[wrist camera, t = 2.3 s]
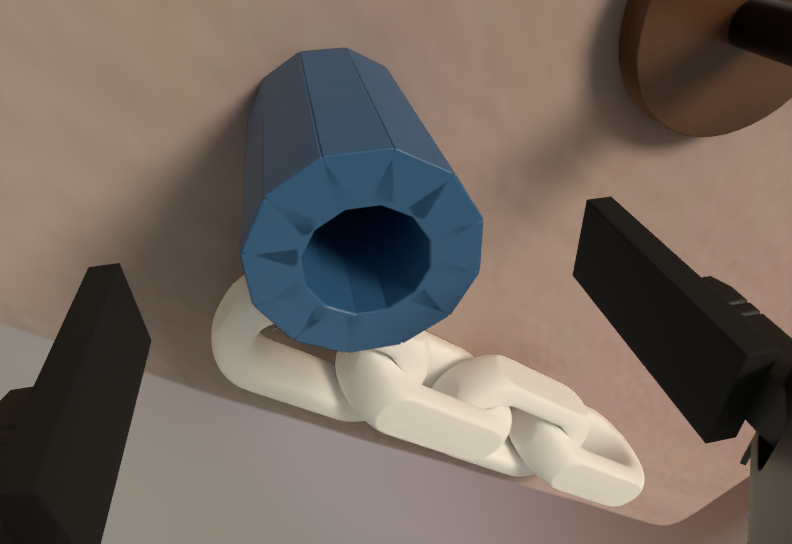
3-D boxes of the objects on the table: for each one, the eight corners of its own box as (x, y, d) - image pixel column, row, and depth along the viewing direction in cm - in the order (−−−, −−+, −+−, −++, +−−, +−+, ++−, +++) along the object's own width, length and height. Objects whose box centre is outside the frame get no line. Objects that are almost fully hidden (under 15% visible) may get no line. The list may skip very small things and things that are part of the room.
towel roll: (214, 115, 22) (187, 250, 14) (351, 12, 21) (406, 96, 13) (316, 228, 26) (340, 382, 18) (436, 147, 25) (518, 274, 17)
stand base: (588, -21, 22) (607, -15, 21) (831, -191, 20) (868, -195, 19) (650, 163, 28) (668, 177, 26) (842, 45, 26) (870, 53, 25)
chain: (630, 402, 40) (682, 477, 35) (570, 452, 42) (610, 528, 37) (261, 218, 25) (260, 301, 20) (199, 309, 27) (185, 404, 22)
